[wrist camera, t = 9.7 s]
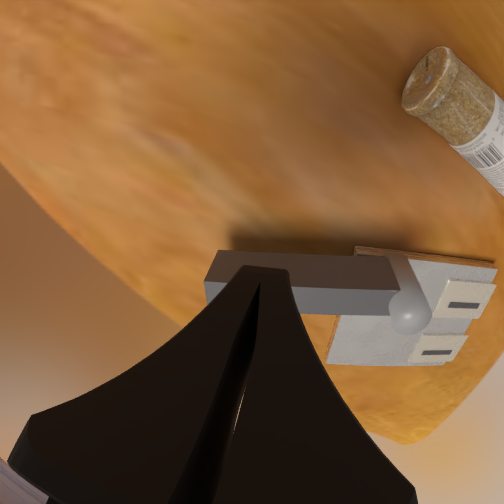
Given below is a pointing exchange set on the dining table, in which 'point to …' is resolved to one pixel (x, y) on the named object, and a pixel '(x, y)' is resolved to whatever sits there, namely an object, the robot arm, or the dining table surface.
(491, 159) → the sprinkles bottle
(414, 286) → the grey knobbed handle
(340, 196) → the dining table surface
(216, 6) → the dining table surface
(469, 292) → the chassis plate
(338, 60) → the dining table surface
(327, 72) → the dining table surface
